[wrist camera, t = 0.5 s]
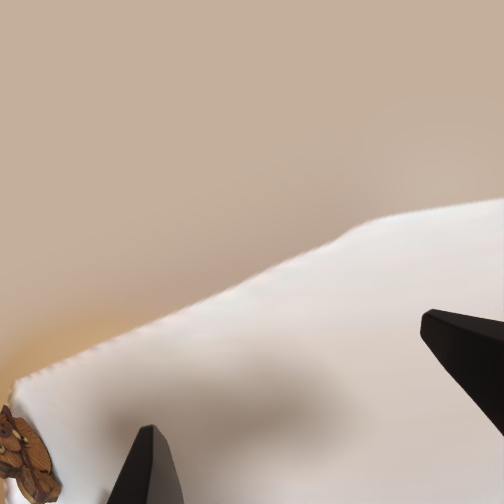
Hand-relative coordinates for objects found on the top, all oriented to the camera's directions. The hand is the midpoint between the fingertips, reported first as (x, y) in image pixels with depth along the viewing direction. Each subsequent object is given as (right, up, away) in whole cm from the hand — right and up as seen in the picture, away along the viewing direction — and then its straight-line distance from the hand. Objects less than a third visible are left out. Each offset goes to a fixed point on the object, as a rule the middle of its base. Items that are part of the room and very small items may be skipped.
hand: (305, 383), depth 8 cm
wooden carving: (-27, -23, +16) cm, 39 cm away
